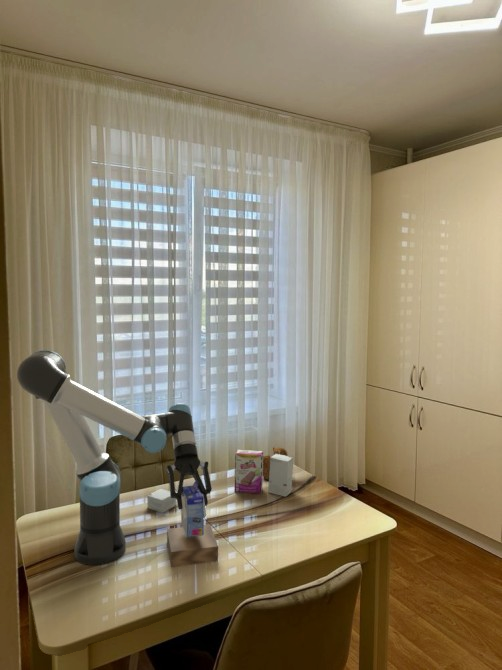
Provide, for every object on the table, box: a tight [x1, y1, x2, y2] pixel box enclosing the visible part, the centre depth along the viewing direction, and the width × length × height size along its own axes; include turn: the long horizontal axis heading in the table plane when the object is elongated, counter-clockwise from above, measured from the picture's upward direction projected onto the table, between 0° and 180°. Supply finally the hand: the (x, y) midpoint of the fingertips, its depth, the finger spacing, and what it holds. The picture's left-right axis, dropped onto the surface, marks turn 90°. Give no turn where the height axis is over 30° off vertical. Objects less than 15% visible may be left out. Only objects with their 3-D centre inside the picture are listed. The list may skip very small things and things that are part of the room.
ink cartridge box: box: [180, 480, 204, 537], centre depth 146 cm, size 10×6×14 cm, turn 19°
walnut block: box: [166, 523, 219, 568], centre depth 147 cm, size 14×14×5 cm
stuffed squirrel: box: [263, 446, 289, 481], centre depth 206 cm, size 10×14×13 cm
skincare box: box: [267, 454, 295, 498], centre depth 191 cm, size 8×6×15 cm
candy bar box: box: [234, 449, 264, 495], centre depth 192 cm, size 11×5×16 cm, turn 84°
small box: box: [146, 488, 177, 514], centre depth 177 cm, size 8×8×5 cm
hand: (194, 517), depth 142 cm, fingers closed on ink cartridge box, 5 cm apart
